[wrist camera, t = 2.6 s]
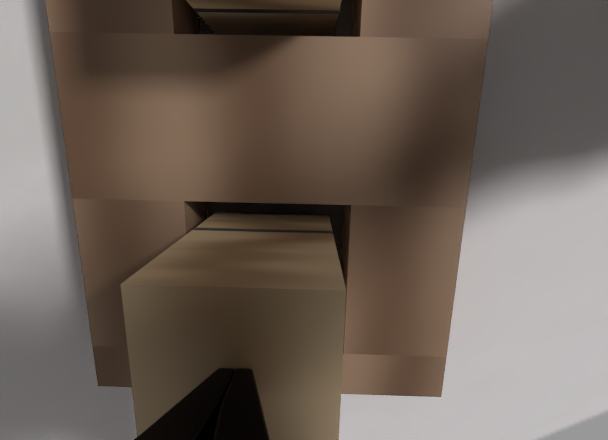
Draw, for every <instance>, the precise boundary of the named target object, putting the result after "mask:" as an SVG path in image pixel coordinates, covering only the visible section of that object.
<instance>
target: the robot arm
mask: <svg viewBox="0 0 608 440" xmlns="http://www.w3.org/2000/svg"><path fill="white" fill-rule="evenodd" d="M134 440H270V438H269V433H268V429H267V425H266V421H265V417H264V413H263V409H262V405H261V401H260V397H259V393H258V389H257V385H256V381H255V377H254V373H253V370H252V369H244V368H238V369H236V370H235V369H234V368H218V369H217V370H216V371H214V372H213V373H212V374H211V375H210V376H209V377H207V378H206V379H205V380H204V381H203V382H202V383H200V384H199V385H198V386H197V387H196V388H194V389H193V390H192V391H191V392H190V393H189V394H187V395H186V396H185V397H184V398H183V399H181V400H180V401H179V402H178V403H177V404H176V405H174V406H173V407H172V408H171V409H170V410H168V411H167V412H166V413H165V414H164V415H163V416H161V417H160V418H159V419H158V420H157V421H156V422H154V423H153V424H152V425H151V426H150V427H148V428H147V429H146V430H145V431H144V432H143V433H141V434H140V435H139V436H138V437H137V438H135V439H134Z"/></svg>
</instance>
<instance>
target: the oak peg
mask: <svg viewBox="0 0 608 440" xmlns="http://www.w3.org/2000/svg"><path fill="white" fill-rule="evenodd" d="M121 293H122V302H123V311H124V320H125V329H126V338H127V347H128V356H129V365H130V374H131V383H132V392H133V401H134V410H135V419H136V428H137V437H138V436H139V435H140V434H141V433H143V432H144V431H145V430H146V429H147V428H148V427H150V426H151V425H152V424H153V423H154V422H156V421H157V420H158V419H159V418H160V417H161V416H163V415H164V414H165V413H166V412H167V411H168V410H170V409H171V408H172V407H173V406H174V405H176V404H177V403H178V402H179V401H180V400H181V399H183V398H184V397H185V396H186V395H187V394H189V393H190V392H191V391H192V390H193V389H194V388H196V387H197V386H198V385H199V384H200V383H202V382H203V381H204V380H205V379H206V378H207V377H209V376H210V375H211V374H212V373H213V372H214V371H216V370H217V369H218V368H234V369H235V370H236V369H238V368H244V369H252V370H253V373H254V377H255V381H256V385H257V389H258V393H259V397H260V401H261V405H262V409H263V413H264V417H265V421H266V425H267V429H268V433H269V438H270V440H338V439H339V420H340V401H341V382H342V362H343V343H344V324H345V305H346V287H345V283H344V278H343V274H342V270H341V266H340V261H339V257H338V253H337V248H336V244H335V240H334V233H333V231H332V227H331V223H330V218H329V215H300V214H259V213H217V212H215V213H214V214H213V215H211V216H210V217H209V218H208V219H206V220H205V221H204V222H202V223H201V224H200V225H198V226H197V227H196V228H193V229H192V231H190V232H189V233H188V234H186V235H185V236H184V237H182V238H181V239H180V240H178V241H177V242H176V243H174V244H173V245H172V246H170V247H169V248H168V249H166V250H165V251H164V252H162V253H161V254H160V255H158V256H157V257H156V258H155V259H153V260H152V261H151V262H149V263H148V264H147V265H145V266H144V267H143V268H141V269H140V270H139V271H137V272H136V273H135V274H133V275H132V276H131V277H129V278H128V279H127V280H125V281H124V282H123V283H121Z"/></svg>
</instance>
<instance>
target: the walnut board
mask: <svg viewBox="0 0 608 440" xmlns="http://www.w3.org/2000/svg"><path fill="white" fill-rule="evenodd" d="M341 1H342V0H45V3H46V10H47V17H48V25H49V32H50V39H51V46H52V54H53V61H54V68H55V76H56V83H57V90H58V97H59V105H60V112H61V119H62V127H63V134H64V141H65V148H66V156H67V163H68V170H69V177H70V185H71V192H72V199H73V207H74V214H75V221H76V228H77V236H78V243H79V250H80V258H81V265H82V272H83V279H84V287H85V294H86V301H87V309H88V316H89V323H90V330H91V338H92V345H93V352H94V360H95V367H96V374H97V381H98V386H118V387H132V383H131V374H130V365H129V356H128V347H127V338H126V329H125V320H124V311H123V302H122V293H121V283H123V282H124V281H125V280H127V279H128V278H129V277H131V276H132V275H133V274H135V273H136V272H137V271H139V270H140V269H141V268H143V267H144V266H145V265H147V264H148V263H149V262H151V261H152V260H153V259H155V258H156V257H157V256H158V255H160V254H161V253H162V252H164V251H165V250H166V249H168V248H169V247H170V246H172V245H173V244H174V243H176V242H177V241H178V240H180V239H181V238H182V237H184V236H185V235H186V234H188V233H189V232H190V231H192V229H193V228H196V227H197V226H198V225H200V224H201V223H202V222H204V221H205V220H206V219H207V202H241V203H284V204H326V205H344V211H343V232H342V253H341V270H342V274H343V278H344V283H345V287H346V305H345V324H344V343H343V362H342V382H341V394H366V395H397V396H429V397H441V394H442V386H443V378H444V371H445V363H446V356H447V348H448V340H449V333H450V325H451V318H452V310H453V302H454V295H455V287H456V280H457V272H458V264H459V257H460V249H461V241H462V234H463V226H464V219H465V211H466V203H467V196H468V188H469V181H470V173H471V165H472V158H473V150H474V143H475V135H476V127H477V120H478V112H479V105H480V97H481V89H482V82H483V74H484V66H485V59H486V51H487V44H488V36H489V28H490V21H491V13H492V6H493V0H354V1H353V22H352V37H334V33H335V28H336V24H337V19H338V15H339V13H340V5H341ZM198 14H199V16H200V17H201V18H202V19H203V20H204V21H205V22H206V23H207V24H208V26H209V27H210V28H211V29H212V30H213V31H214V32H215V33H216V35H208V34H199V23H198Z"/></svg>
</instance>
